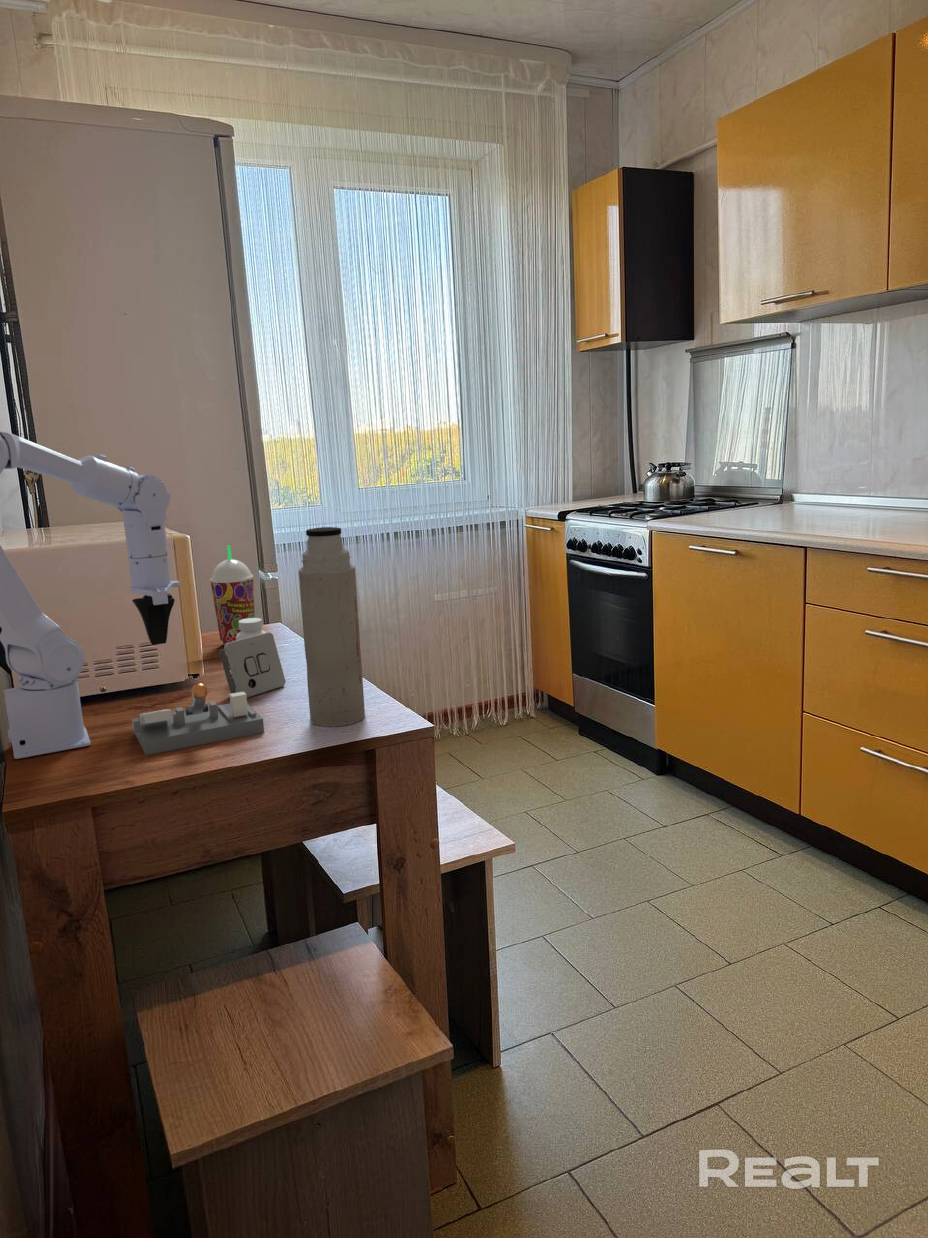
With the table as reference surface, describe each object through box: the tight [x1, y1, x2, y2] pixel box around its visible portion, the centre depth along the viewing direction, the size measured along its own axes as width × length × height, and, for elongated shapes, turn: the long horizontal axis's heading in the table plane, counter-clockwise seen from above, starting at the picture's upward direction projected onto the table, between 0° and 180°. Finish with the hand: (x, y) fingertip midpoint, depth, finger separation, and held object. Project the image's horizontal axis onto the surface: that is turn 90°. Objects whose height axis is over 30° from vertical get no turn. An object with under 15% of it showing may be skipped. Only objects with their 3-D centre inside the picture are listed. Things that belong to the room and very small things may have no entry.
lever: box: [184, 682, 209, 716], centre depth 121 cm, size 3×2×7 cm
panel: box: [131, 701, 265, 756], centre depth 123 cm, size 17×10×4 cm, turn 118°
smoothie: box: [209, 545, 256, 646], centre depth 173 cm, size 8×8×20 cm
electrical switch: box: [218, 631, 287, 699], centre depth 143 cm, size 9×5×9 cm, turn 141°
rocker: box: [139, 709, 173, 723], centre depth 121 cm, size 4×6×1 cm, turn 28°
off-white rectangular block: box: [229, 692, 248, 717], centre depth 124 cm, size 2×2×3 cm
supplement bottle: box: [236, 617, 267, 640], centre depth 152 cm, size 5×5×10 cm
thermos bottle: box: [298, 526, 366, 728], centre depth 125 cm, size 8×8×28 cm
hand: (158, 643), depth 134 cm, fingers closed
